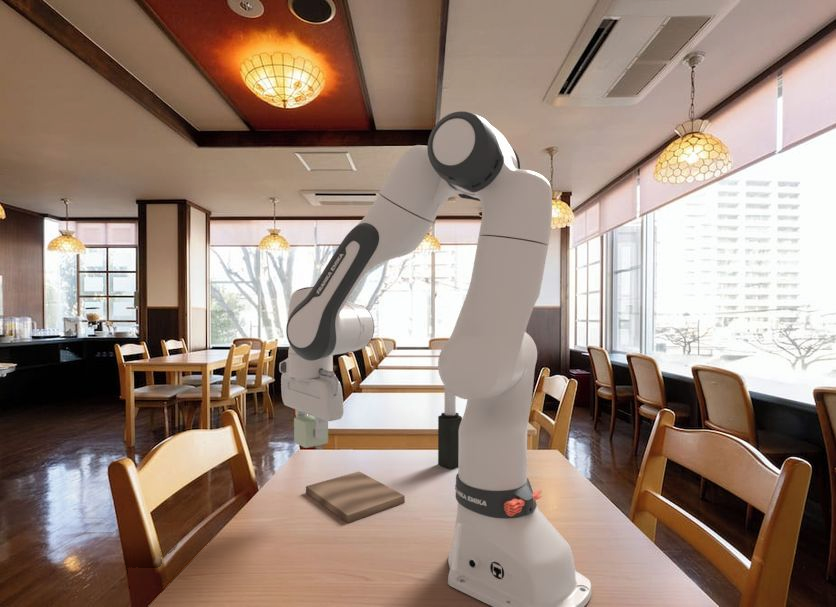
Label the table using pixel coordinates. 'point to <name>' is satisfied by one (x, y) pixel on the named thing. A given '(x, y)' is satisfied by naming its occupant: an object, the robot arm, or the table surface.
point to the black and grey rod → (448, 433)
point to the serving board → (354, 496)
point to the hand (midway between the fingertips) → (311, 434)
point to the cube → (307, 432)
